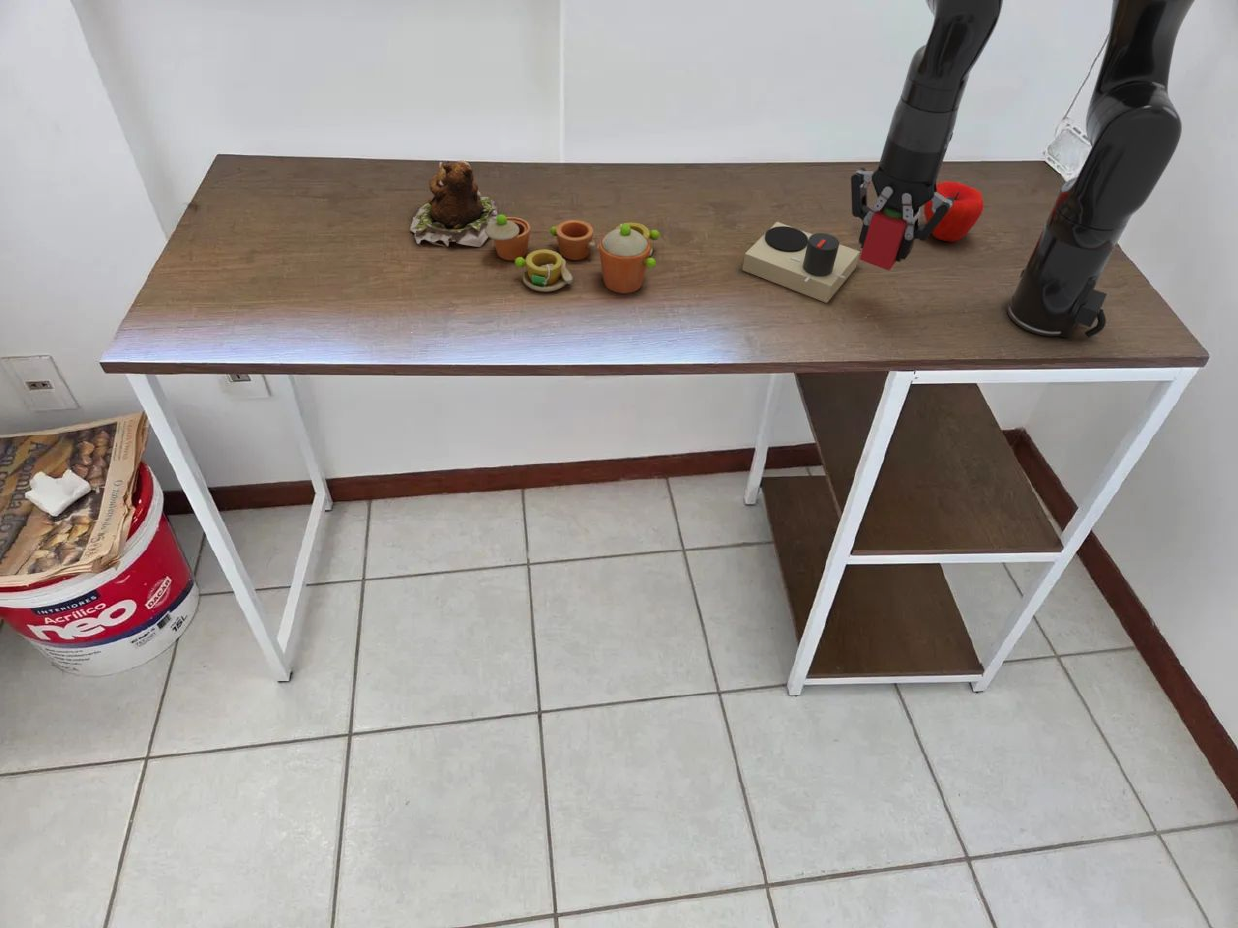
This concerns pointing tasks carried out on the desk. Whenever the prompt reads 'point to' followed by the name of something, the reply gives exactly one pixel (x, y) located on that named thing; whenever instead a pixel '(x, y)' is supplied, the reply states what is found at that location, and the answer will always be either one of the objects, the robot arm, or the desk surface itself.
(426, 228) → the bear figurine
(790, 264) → the hob
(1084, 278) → the robot arm
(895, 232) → the red block green button
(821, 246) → the hob knob
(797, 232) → the burner
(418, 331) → the desk surface
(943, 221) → the apple
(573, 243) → the toy tea set
